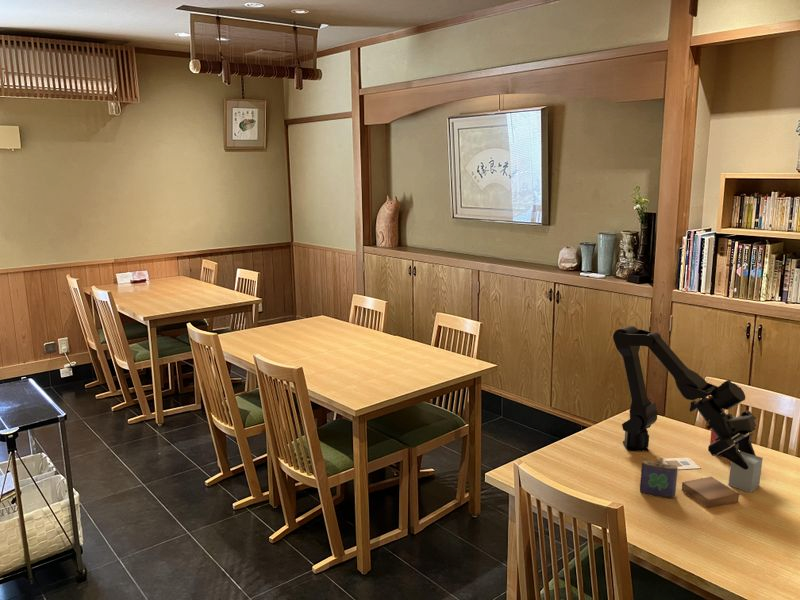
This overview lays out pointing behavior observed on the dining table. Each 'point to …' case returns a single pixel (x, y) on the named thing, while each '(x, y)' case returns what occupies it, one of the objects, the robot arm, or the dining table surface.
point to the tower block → (746, 473)
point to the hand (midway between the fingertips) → (751, 465)
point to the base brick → (710, 492)
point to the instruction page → (681, 463)
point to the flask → (658, 479)
